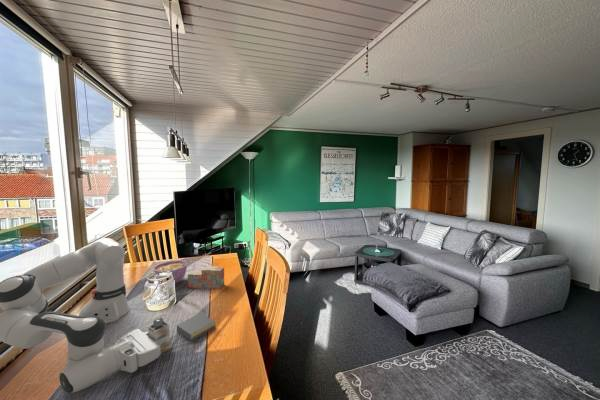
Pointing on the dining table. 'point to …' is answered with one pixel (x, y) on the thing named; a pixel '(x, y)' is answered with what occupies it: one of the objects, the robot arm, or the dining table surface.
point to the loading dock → (195, 326)
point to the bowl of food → (172, 269)
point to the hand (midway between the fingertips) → (161, 334)
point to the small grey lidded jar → (161, 332)
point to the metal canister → (158, 323)
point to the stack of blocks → (207, 278)
